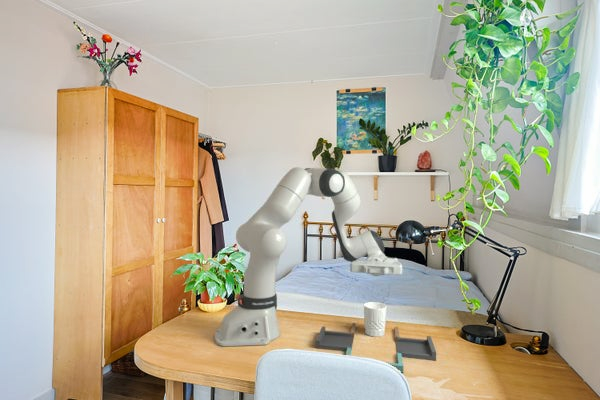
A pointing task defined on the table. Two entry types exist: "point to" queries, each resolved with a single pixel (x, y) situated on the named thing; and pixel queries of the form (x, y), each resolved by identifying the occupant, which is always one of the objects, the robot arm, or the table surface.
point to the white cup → (375, 318)
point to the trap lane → (403, 345)
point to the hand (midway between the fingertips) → (375, 271)
